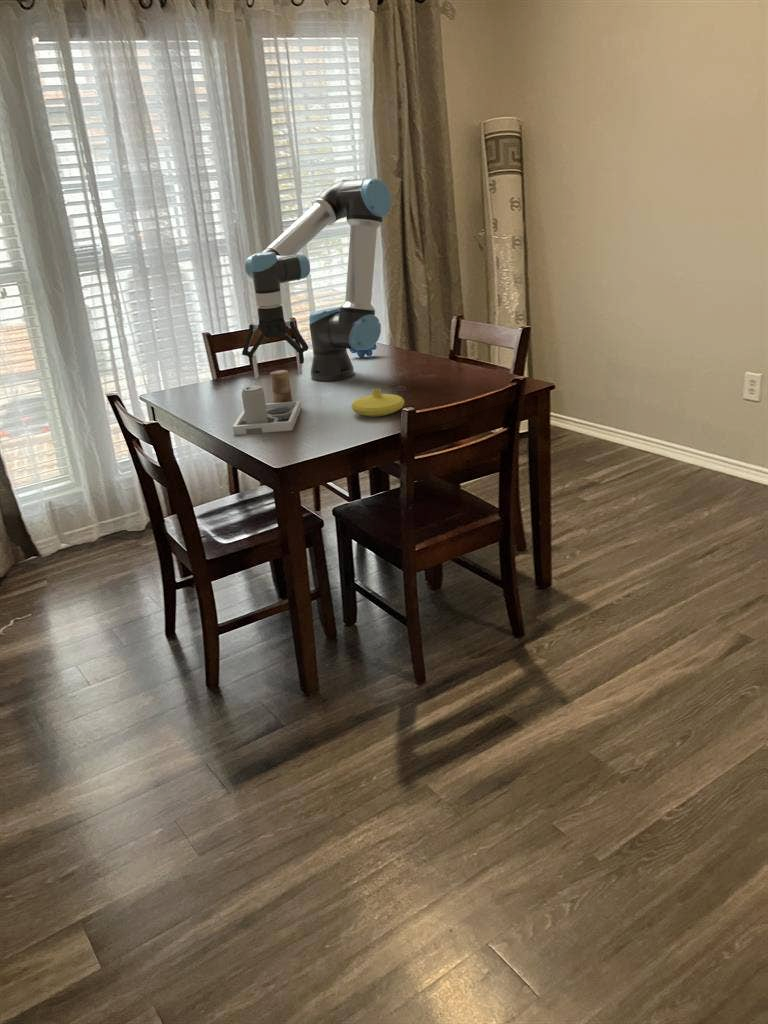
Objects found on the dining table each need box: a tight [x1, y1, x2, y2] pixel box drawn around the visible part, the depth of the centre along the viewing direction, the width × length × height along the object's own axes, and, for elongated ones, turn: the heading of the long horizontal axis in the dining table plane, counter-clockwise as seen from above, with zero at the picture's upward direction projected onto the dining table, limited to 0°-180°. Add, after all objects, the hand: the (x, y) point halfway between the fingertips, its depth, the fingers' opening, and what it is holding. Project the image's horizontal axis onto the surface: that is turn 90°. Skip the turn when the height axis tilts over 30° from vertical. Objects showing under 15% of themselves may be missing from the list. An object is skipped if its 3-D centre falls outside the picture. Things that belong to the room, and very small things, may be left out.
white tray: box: [232, 400, 302, 436], centre depth 257 cm, size 17×22×2 cm
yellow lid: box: [351, 388, 405, 417], centre depth 255 cm, size 16×16×7 cm
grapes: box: [349, 343, 377, 358], centre depth 322 cm, size 12×7×12 cm, turn 85°
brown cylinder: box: [269, 369, 293, 403], centre depth 269 cm, size 6×6×11 cm
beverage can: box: [241, 384, 269, 425], centre depth 251 cm, size 6×6×12 cm
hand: (278, 375), depth 267 cm, fingers open, 13 cm apart
